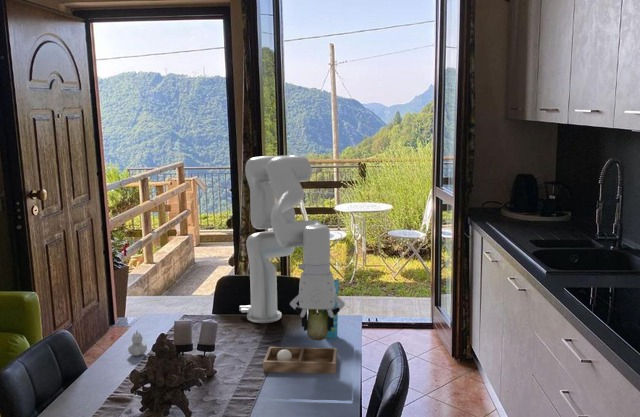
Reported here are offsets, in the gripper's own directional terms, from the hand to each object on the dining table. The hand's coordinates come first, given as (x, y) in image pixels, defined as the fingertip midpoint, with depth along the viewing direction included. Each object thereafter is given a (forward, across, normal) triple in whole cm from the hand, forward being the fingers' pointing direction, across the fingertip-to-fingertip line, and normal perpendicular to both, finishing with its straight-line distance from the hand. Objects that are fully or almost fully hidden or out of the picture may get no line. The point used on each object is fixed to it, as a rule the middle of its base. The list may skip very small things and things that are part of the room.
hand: (317, 328), depth 159 cm
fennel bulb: (+3, 0, 0) cm, 3 cm away
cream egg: (+11, -10, 0) cm, 15 cm away
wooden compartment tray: (+12, -5, 0) cm, 13 cm away
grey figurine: (+12, -56, +5) cm, 57 cm away
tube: (+12, +2, +23) cm, 26 cm away
